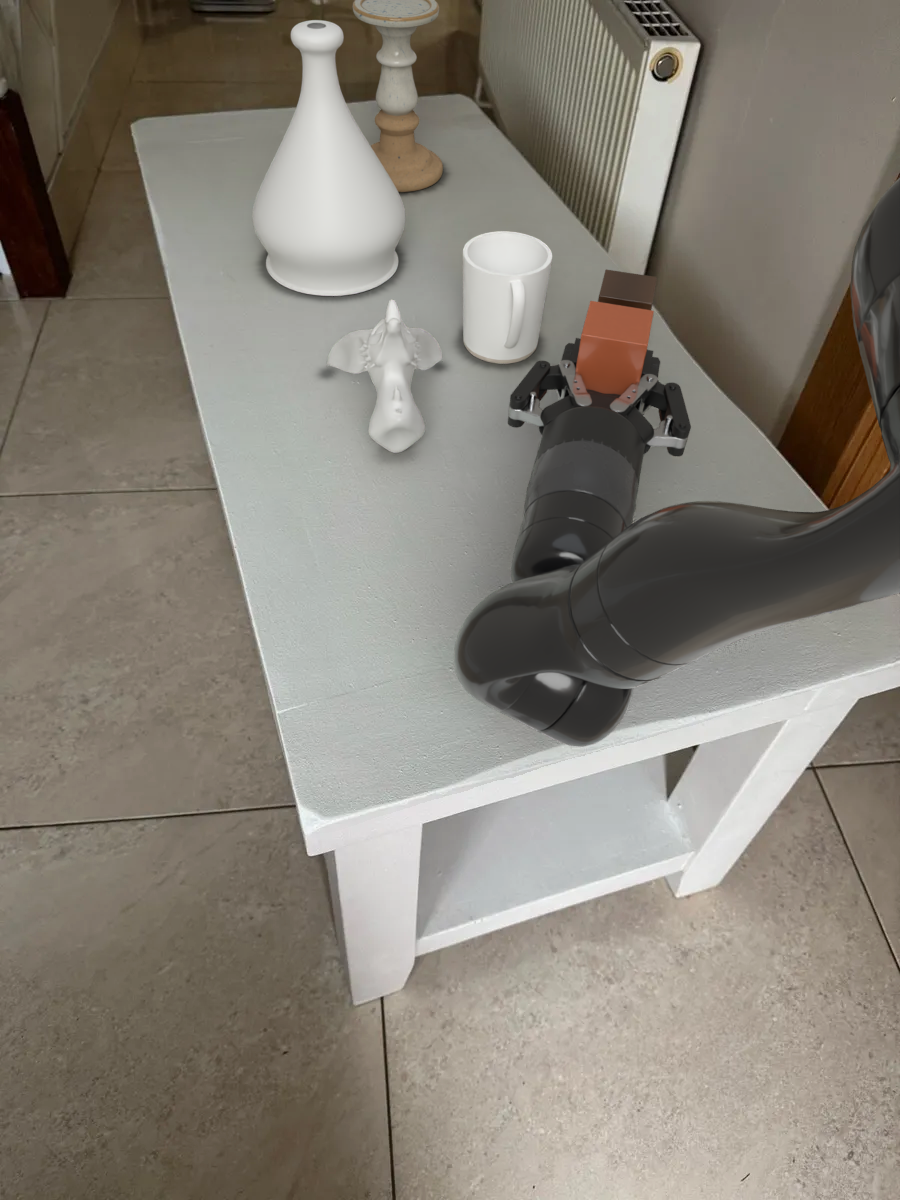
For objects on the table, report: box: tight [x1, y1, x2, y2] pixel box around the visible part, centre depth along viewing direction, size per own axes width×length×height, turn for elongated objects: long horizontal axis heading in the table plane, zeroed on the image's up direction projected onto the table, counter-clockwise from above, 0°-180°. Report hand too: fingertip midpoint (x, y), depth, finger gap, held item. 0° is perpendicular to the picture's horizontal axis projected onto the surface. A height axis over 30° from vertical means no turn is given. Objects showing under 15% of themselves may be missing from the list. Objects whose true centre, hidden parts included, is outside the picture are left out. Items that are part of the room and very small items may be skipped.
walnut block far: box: [597, 269, 658, 310], centre depth 92 cm, size 5×5×11 cm
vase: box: [251, 19, 407, 297], centre depth 101 cm, size 17×17×25 cm
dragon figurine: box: [326, 299, 444, 454], centre depth 86 cm, size 12×18×13 cm
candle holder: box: [352, 0, 444, 193], centre depth 119 cm, size 12×12×20 cm
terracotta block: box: [575, 300, 655, 395], centre depth 75 cm, size 5×5×11 cm
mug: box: [462, 230, 553, 365], centre depth 96 cm, size 11×9×10 cm
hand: (612, 354), depth 76 cm, fingers closed on terracotta block, 5 cm apart
